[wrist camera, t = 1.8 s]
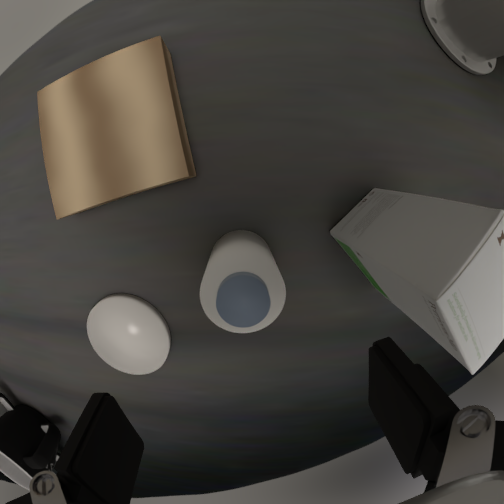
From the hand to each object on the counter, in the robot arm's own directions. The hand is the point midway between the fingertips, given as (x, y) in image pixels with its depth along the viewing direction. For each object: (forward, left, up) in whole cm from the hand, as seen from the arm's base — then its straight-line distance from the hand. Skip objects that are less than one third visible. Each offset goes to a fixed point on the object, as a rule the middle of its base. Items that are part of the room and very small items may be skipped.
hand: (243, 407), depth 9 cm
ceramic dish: (+13, +5, -18) cm, 22 cm away
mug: (+40, +20, -18) cm, 48 cm away
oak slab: (+8, -14, -18) cm, 24 cm away
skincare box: (-13, +1, -18) cm, 22 cm away
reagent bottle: (0, 0, -18) cm, 18 cm away
